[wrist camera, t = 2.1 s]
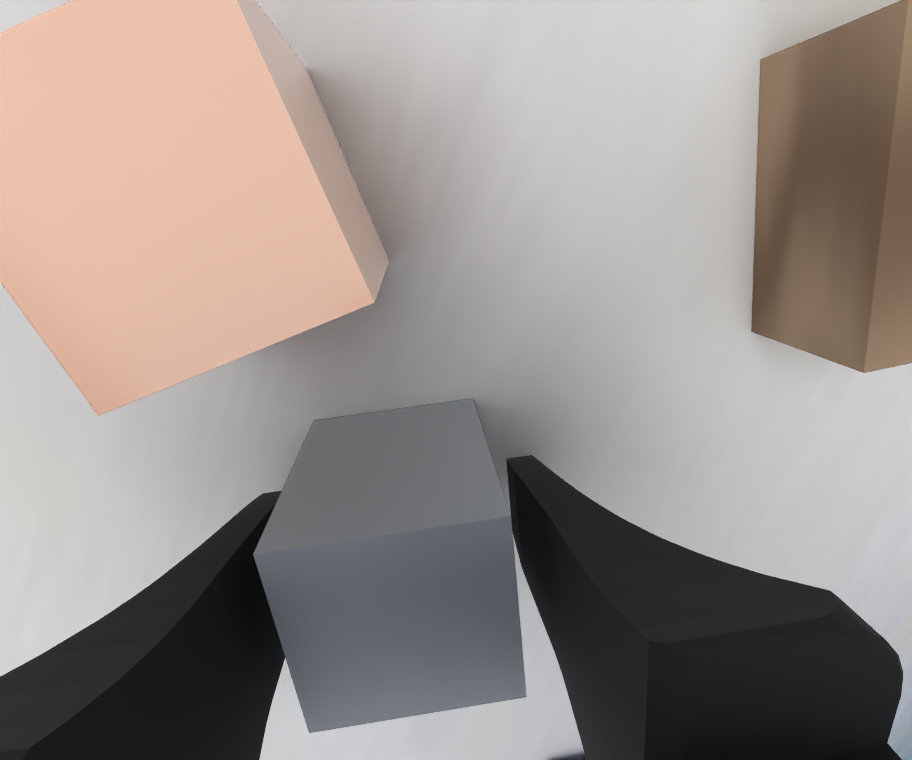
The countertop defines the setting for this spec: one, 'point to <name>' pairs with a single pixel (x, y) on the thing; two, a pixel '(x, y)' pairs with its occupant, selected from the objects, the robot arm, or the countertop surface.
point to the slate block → (394, 568)
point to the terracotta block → (171, 192)
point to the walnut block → (837, 194)
